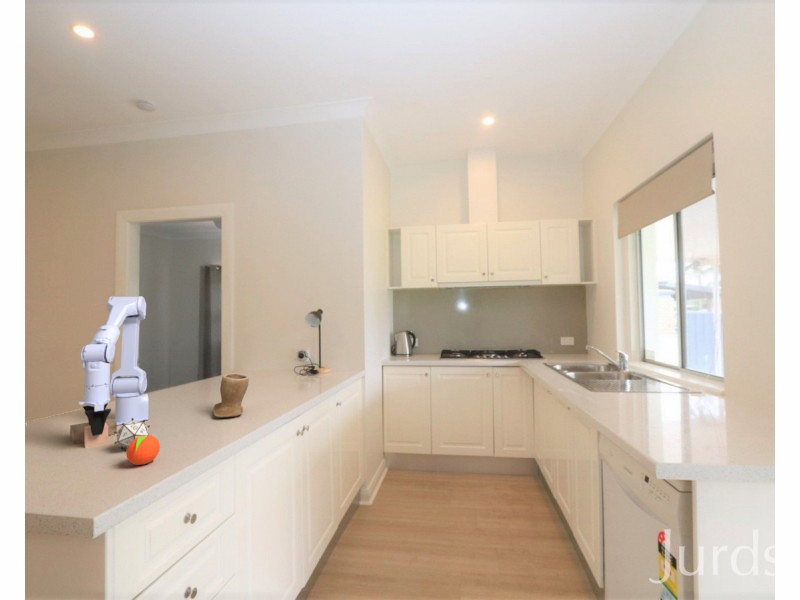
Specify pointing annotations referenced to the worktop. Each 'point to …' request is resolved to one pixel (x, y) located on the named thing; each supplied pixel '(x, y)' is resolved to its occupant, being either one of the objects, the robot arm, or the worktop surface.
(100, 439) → the terracotta cube
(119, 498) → the worktop surface
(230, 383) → the brown boot
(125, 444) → the game die
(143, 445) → the clementine
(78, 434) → the walnut block
